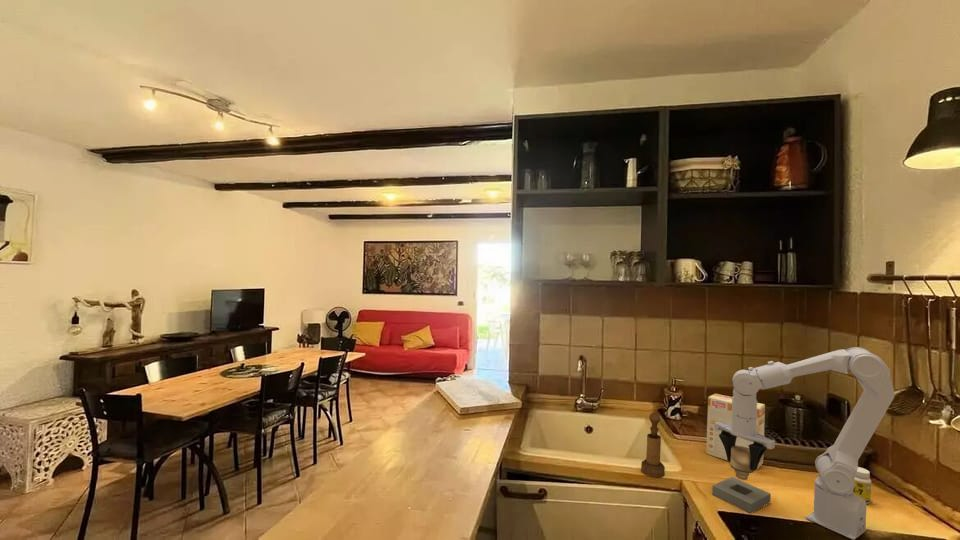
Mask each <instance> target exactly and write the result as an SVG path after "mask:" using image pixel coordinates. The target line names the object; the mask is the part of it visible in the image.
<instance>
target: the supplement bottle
mask: <svg viewBox="0 0 960 540" xmlns="http://www.w3.org/2000/svg"><path fill="white" fill-rule="evenodd" d="M870 472H871V471H869V470H868V469H866V468H864V467H860V466H858V469H857V473H856V475H855V478H854V480H855V487H854V489H853V493H854V494H856V495H857V496H859V497H861V498H863V499H864V500H865V501H866V505H869V504H870V503H871V497H872V496H871V495H872V479H871V478H870V475H871V473H870Z"/></svg>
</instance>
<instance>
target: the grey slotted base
mask: <svg viewBox="0 0 960 540" xmlns="http://www.w3.org/2000/svg"><path fill="white" fill-rule="evenodd" d="M711 488H712V489H711V491H712V492H711V493H712V496H715V497H716V498H718V499H721V500H723V501H725V502H727V503H729V504H731V505H733V506H735V507H737V508H739V509H740V510H743V511H744V512H747V513H749V514H752V512H753V513H754V511H755V512H756V511H758V510H759V508H760V509H761V507H762V508H763V506H764V505H766V504H768V503H769V502H770V503H771V500H772V499H771V493H770V492H769V491H765V490H764V489H761V488H759V487H756V486H754V485H751V484H749V483H747V482H745V481H744V480H742V479H739V478H737V477H734V476H731V477H729V478H726V479H723V480H721V481H720V482H717V483H715V484H713V485H712V486H711ZM770 503H769V504H770ZM769 504H768V505H769ZM766 506H767V505H766ZM764 507H765V506H764Z"/></svg>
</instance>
